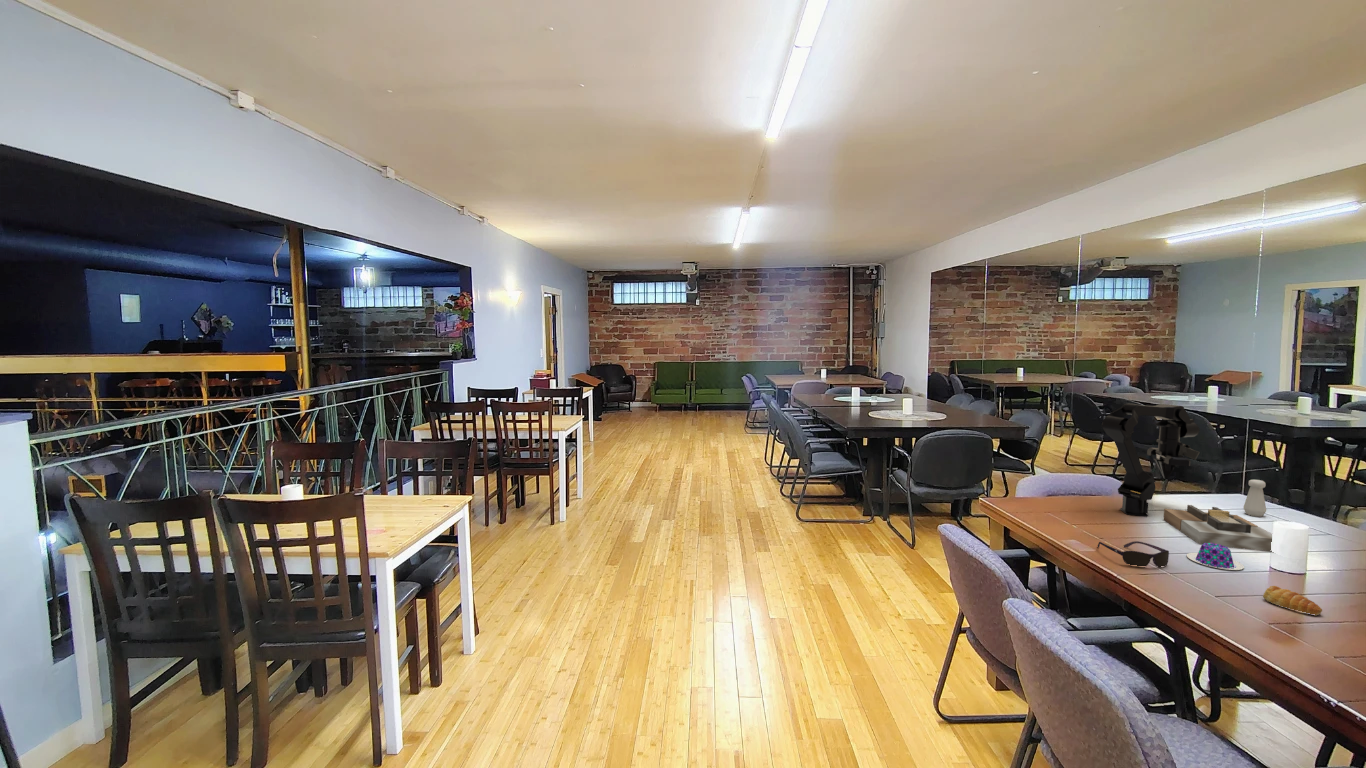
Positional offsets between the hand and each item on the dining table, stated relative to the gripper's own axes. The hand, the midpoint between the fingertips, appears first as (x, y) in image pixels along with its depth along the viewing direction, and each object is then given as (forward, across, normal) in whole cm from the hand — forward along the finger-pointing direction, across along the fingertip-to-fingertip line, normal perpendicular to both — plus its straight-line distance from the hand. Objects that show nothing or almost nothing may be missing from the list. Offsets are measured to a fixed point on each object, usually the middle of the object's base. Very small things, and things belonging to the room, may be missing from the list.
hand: (1166, 479), depth 203 cm
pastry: (+12, -78, +5) cm, 80 cm away
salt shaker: (+12, +4, -28) cm, 31 cm away
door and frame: (+12, -25, -5) cm, 28 cm away
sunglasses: (+13, -56, +30) cm, 65 cm away
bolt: (+8, -27, -5) cm, 29 cm away
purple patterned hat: (+13, -53, +8) cm, 55 cm away
